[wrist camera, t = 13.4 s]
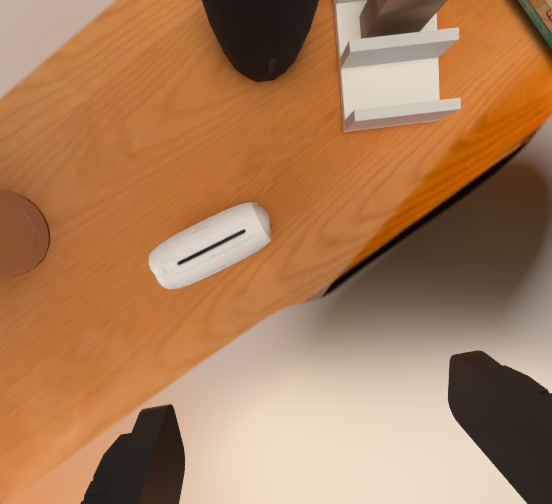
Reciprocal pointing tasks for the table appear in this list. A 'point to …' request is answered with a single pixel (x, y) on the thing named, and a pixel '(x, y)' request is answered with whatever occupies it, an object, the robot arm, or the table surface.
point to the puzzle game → (540, 16)
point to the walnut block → (396, 16)
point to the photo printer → (211, 245)
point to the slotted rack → (389, 73)
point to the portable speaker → (261, 33)
